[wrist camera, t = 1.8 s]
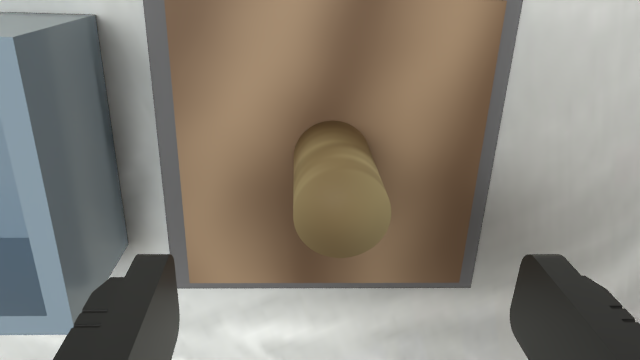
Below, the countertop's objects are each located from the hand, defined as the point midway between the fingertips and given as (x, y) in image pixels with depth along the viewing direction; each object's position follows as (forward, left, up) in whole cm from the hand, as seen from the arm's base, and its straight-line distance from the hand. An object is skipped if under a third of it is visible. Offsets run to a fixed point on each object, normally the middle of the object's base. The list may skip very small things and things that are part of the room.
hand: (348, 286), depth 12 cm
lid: (0, 0, -10) cm, 10 cm away
